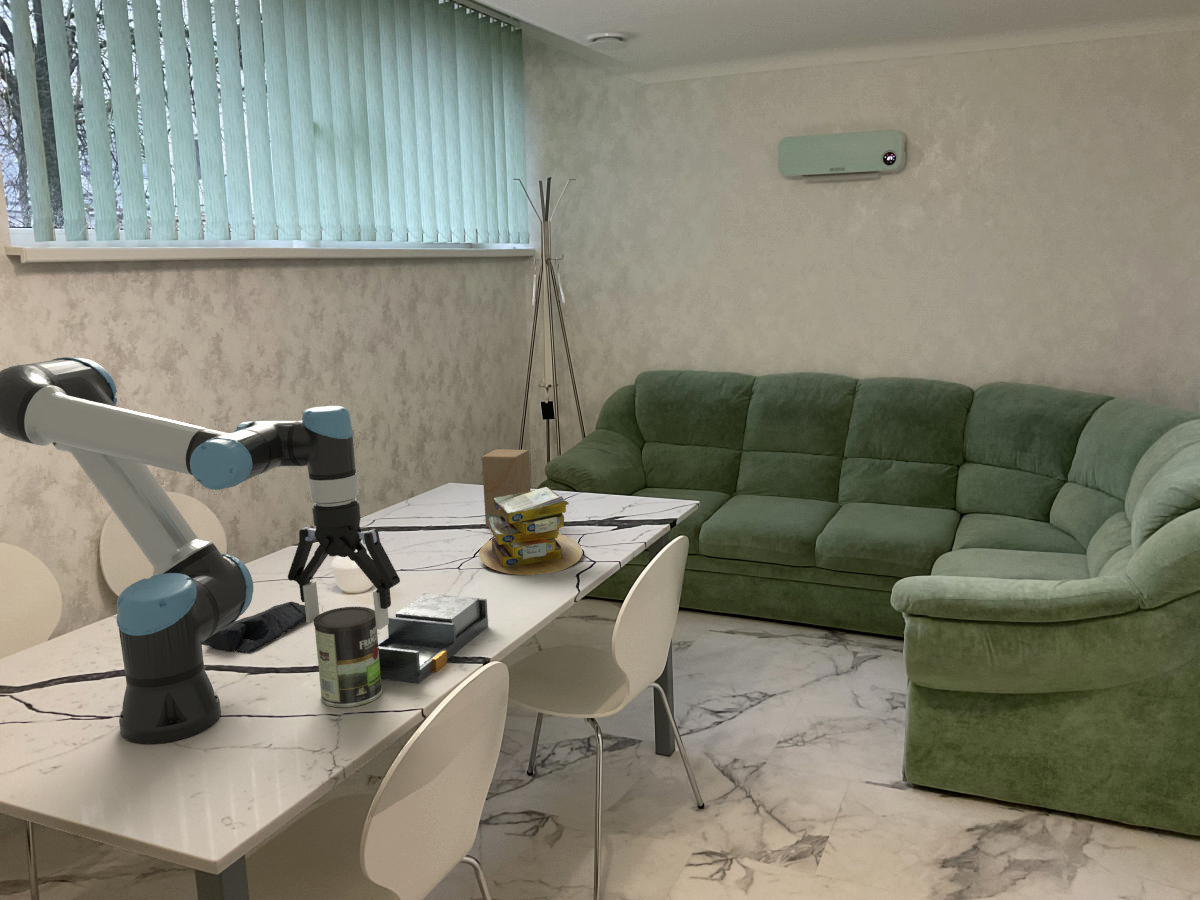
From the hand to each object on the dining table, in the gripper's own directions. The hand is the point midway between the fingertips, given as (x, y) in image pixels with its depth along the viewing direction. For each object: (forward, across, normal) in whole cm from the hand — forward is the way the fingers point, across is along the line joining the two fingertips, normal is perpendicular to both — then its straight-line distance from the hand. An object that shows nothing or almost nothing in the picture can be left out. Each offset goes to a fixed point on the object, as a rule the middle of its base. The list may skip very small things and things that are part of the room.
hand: (347, 623), depth 169 cm
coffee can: (+13, 0, 0) cm, 13 cm away
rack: (+13, -2, -21) cm, 25 cm away
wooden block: (+13, +20, -107) cm, 109 cm away
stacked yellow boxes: (+13, +1, -78) cm, 80 cm away
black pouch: (+13, +36, -21) cm, 44 cm away
